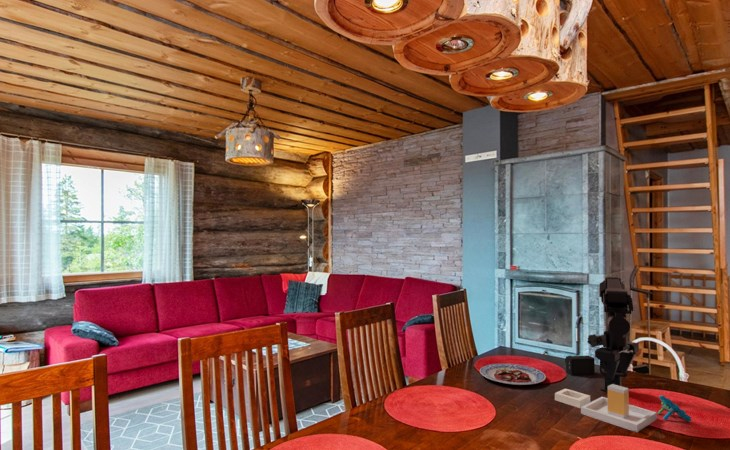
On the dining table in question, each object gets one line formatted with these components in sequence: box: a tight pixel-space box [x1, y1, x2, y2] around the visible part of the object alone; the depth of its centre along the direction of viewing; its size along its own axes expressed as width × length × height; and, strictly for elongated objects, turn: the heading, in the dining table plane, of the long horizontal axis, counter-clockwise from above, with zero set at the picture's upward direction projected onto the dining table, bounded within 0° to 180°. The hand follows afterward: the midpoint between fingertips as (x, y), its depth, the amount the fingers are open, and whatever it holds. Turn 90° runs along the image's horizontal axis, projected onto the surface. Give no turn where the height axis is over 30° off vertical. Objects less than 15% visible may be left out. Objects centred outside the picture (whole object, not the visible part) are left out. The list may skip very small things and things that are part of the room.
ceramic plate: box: [479, 363, 547, 386], centre depth 182 cm, size 26×26×3 cm
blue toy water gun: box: [657, 394, 692, 423], centre depth 142 cm, size 11×6×10 cm
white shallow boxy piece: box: [554, 388, 591, 409], centre depth 157 cm, size 8×9×2 cm
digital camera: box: [564, 355, 596, 376], centre depth 188 cm, size 10×5×7 cm, turn 96°
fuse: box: [607, 384, 630, 419], centre depth 144 cm, size 4×5×9 cm
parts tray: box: [580, 396, 658, 433], centre depth 144 cm, size 15×17×2 cm
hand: (617, 376), depth 145 cm, fingers open, 9 cm apart
